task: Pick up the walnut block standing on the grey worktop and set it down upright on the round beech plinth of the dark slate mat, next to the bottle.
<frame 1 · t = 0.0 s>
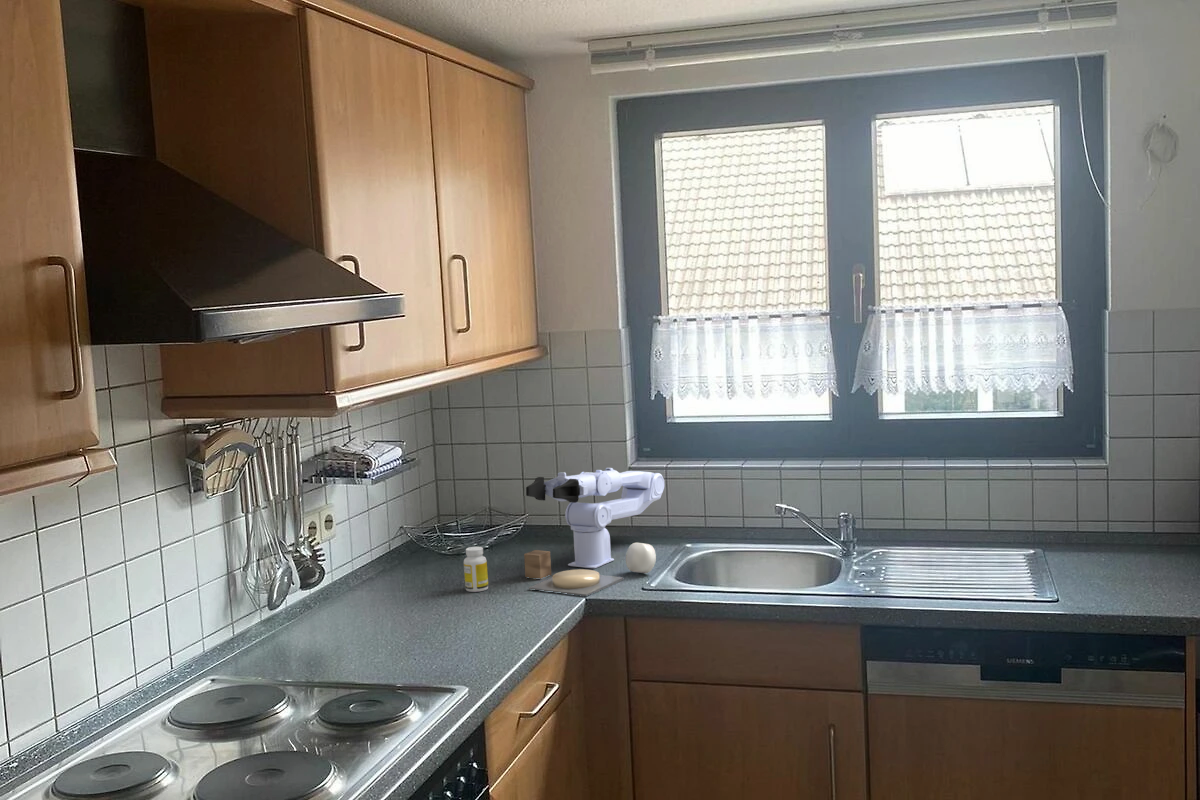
hand: (540, 492, 276), 22 cm above the worktop, tool horizontal, fingers open, 7 cm apart
base: (576, 584, 275), on the worktop
white rounded lump: (635, 557, 281), point 4 cm above the worktop, tilted 107°
block: (538, 577, 285), on the worktop
supplement bottle: (477, 590, 276), on the worktop
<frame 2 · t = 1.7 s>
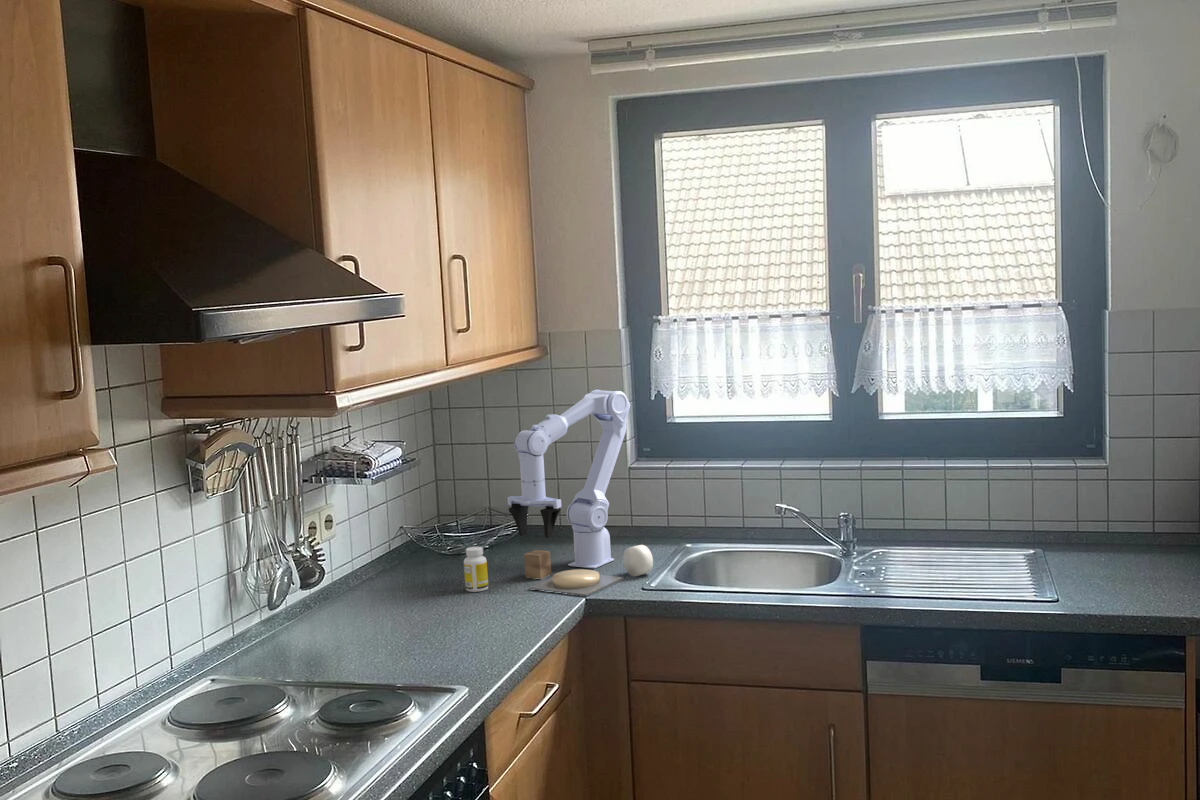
hand: (536, 536, 283), 10 cm above the worktop, tool pointing down, fingers open, 7 cm apart
white rounded lump: (632, 561, 280), point 3 cm above the worktop, tilted 90°
everything else where it was.
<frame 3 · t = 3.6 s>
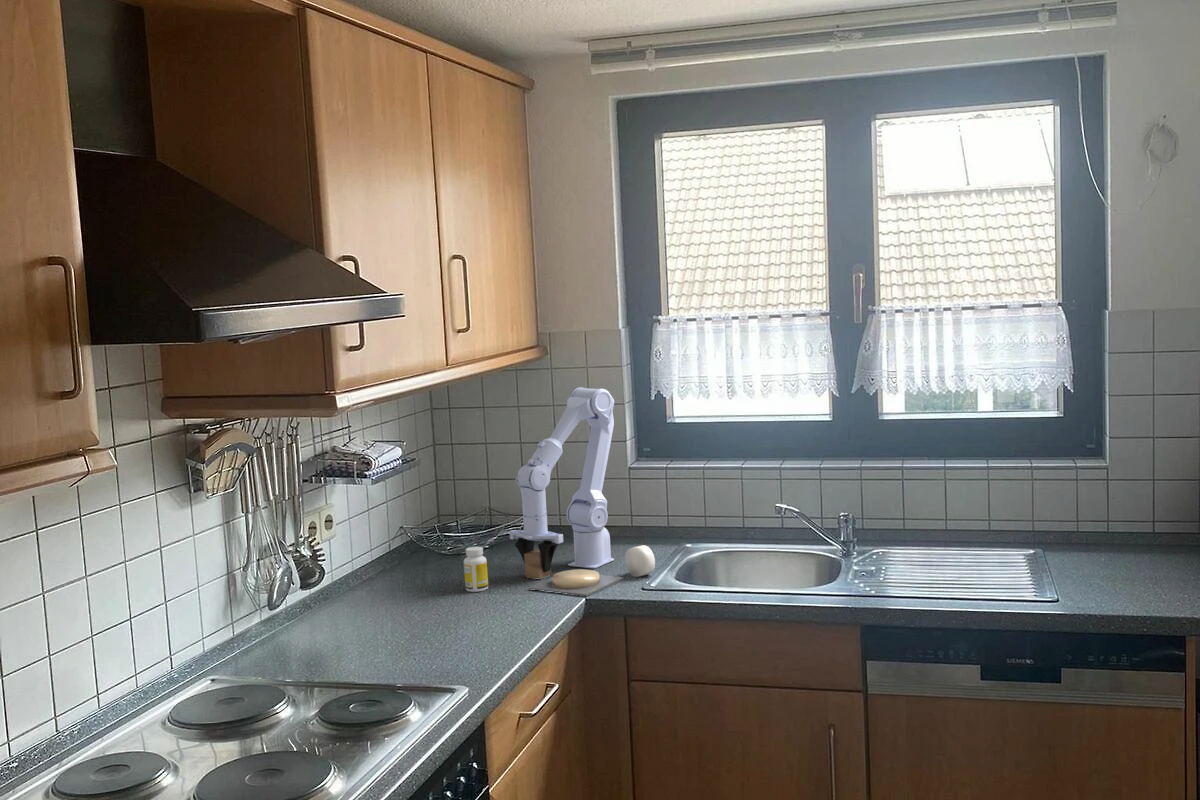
hand: (538, 570, 284), 2 cm above the worktop, tool pointing down, fingers closed on block, 4 cm apart
block: (538, 576, 284), on the worktop, touching gripper
when the fingers open (5 cm above the worktop, at t = 7.1 s): block stays where it is, resting on base.
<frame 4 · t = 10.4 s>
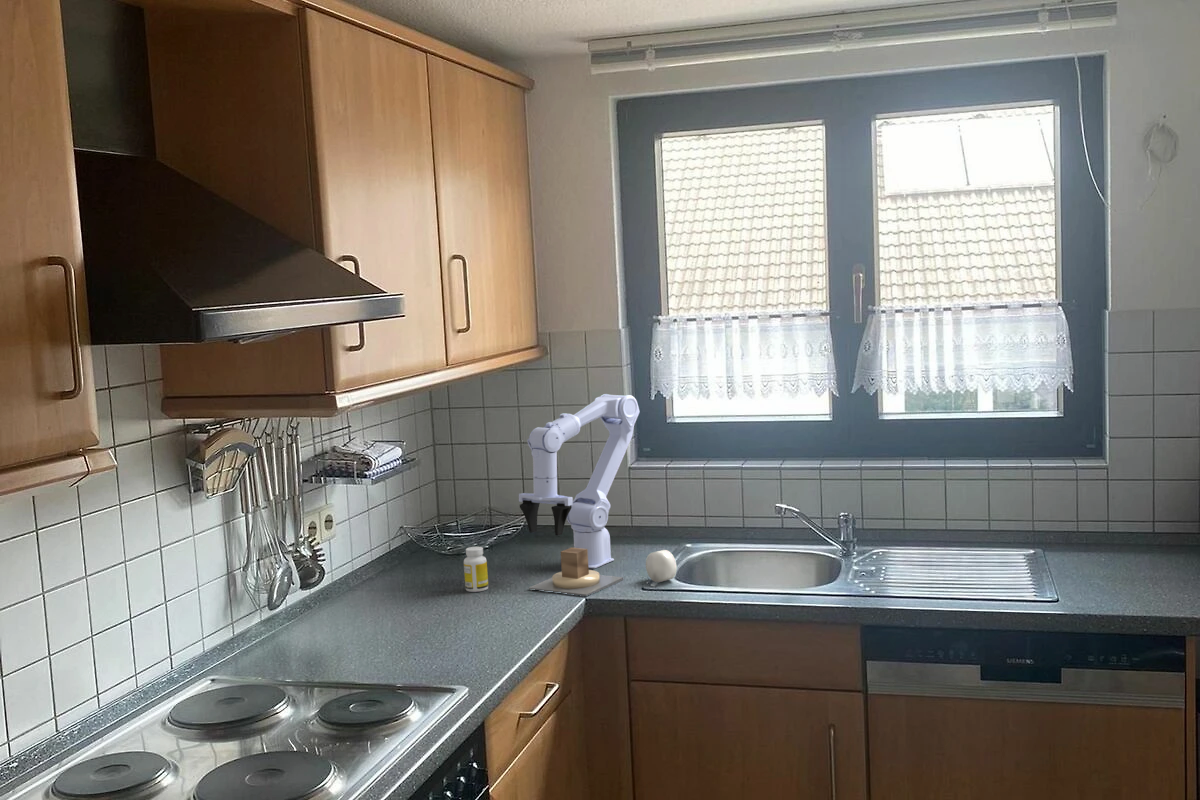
hand: (545, 533, 284), 10 cm above the worktop, tool pointing down, fingers open, 7 cm apart
white rounded lump: (655, 567, 273), point 3 cm above the worktop, tilted 90°
block: (575, 575, 275), point 2 cm above the worktop, touching base
everything else where it was.
at the end: block inside the target area on the base (0.2 cm from its centre), point 2.3 cm above the base's base; block tilted 0°; the gripper is holding nothing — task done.
